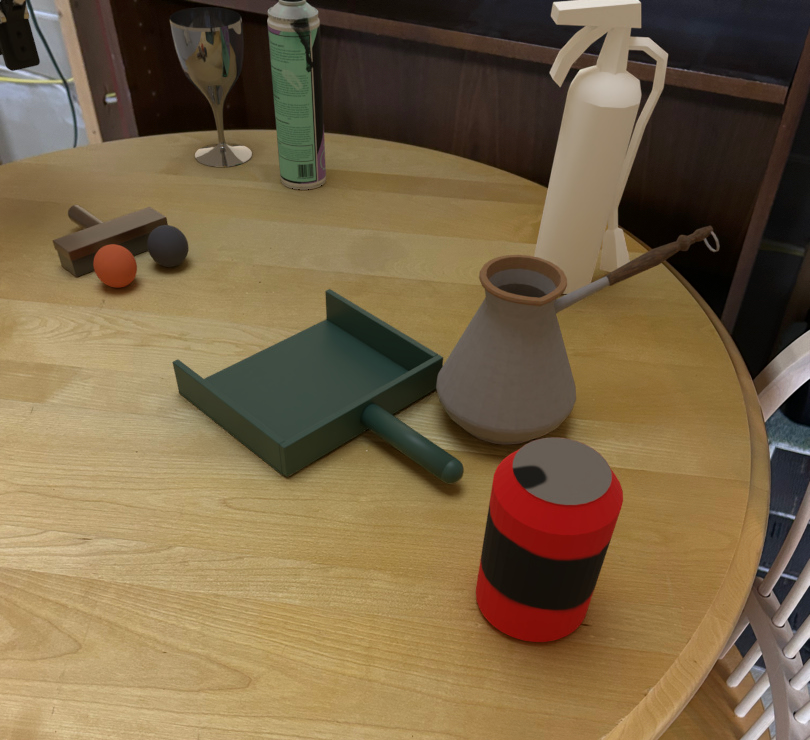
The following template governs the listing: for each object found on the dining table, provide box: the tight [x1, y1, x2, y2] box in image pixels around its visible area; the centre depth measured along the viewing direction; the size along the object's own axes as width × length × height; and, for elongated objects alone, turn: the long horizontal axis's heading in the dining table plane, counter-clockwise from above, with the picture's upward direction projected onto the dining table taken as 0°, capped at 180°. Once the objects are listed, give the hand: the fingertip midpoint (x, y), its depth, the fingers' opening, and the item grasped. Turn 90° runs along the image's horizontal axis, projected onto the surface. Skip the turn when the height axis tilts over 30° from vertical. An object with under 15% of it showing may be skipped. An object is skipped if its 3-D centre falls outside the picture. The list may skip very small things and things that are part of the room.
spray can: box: [267, 0, 327, 191], centre depth 90 cm, size 6×6×20 cm
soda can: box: [475, 437, 624, 643], centre depth 50 cm, size 8×8×12 cm
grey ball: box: [147, 224, 189, 268], centre depth 81 cm, size 4×4×4 cm
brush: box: [52, 204, 169, 278], centre depth 84 cm, size 9×11×3 cm
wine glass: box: [169, 6, 253, 168], centre depth 96 cm, size 8×8×15 cm
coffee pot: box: [435, 225, 720, 446], centre depth 63 cm, size 21×12×15 cm, turn 107°
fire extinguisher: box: [533, 0, 669, 295], centre depth 74 cm, size 7×12×25 cm, turn 95°
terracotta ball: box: [93, 244, 138, 289], centre depth 78 cm, size 4×4×4 cm
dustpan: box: [172, 288, 465, 485], centre depth 66 cm, size 25×17×3 cm
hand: (11, 58), depth 78 cm, fingers open, 4 cm apart
